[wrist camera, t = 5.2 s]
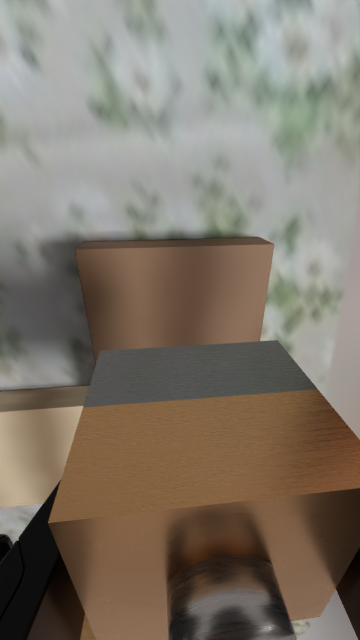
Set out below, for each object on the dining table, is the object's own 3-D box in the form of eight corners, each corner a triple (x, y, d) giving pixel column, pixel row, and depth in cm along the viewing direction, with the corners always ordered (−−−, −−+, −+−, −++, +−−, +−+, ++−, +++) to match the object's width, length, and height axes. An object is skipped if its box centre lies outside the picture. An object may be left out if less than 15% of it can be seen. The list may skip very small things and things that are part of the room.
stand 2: (107, 384, 19) (103, 404, 17) (83, 241, 15) (74, 249, 13) (243, 374, 20) (251, 393, 18) (260, 237, 16) (274, 244, 14)
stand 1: (4, 483, 23) (-9, 508, 21) (-41, 394, 18) (-61, 416, 17) (122, 472, 24) (119, 495, 22) (107, 384, 19) (103, 404, 17)
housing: (120, 469, 11) (93, 718, 6) (100, 350, 9) (20, 611, 3) (256, 455, 12) (342, 674, 7) (277, 340, 9) (452, 552, 4)
